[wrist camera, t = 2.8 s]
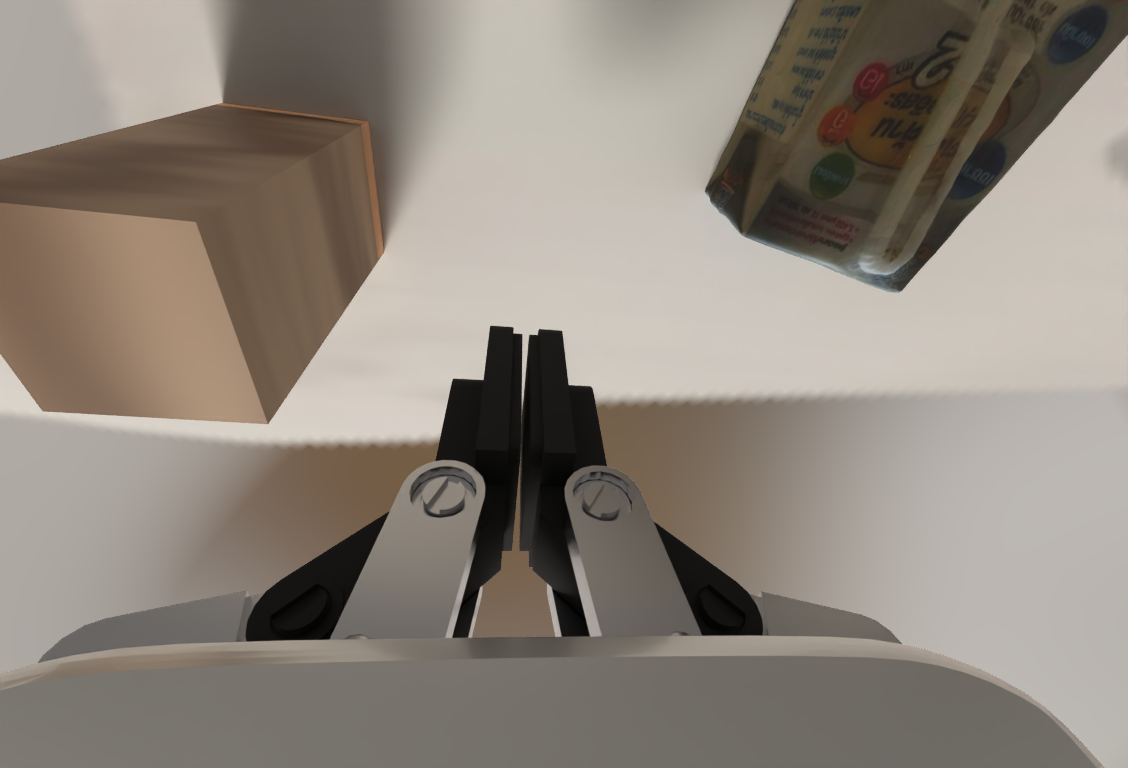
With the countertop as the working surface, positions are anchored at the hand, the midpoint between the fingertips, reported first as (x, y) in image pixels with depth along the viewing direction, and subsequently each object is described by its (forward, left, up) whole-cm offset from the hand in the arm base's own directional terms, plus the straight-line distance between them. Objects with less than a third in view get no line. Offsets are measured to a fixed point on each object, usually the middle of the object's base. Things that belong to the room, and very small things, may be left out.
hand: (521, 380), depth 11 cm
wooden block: (+9, 0, -13) cm, 16 cm away
